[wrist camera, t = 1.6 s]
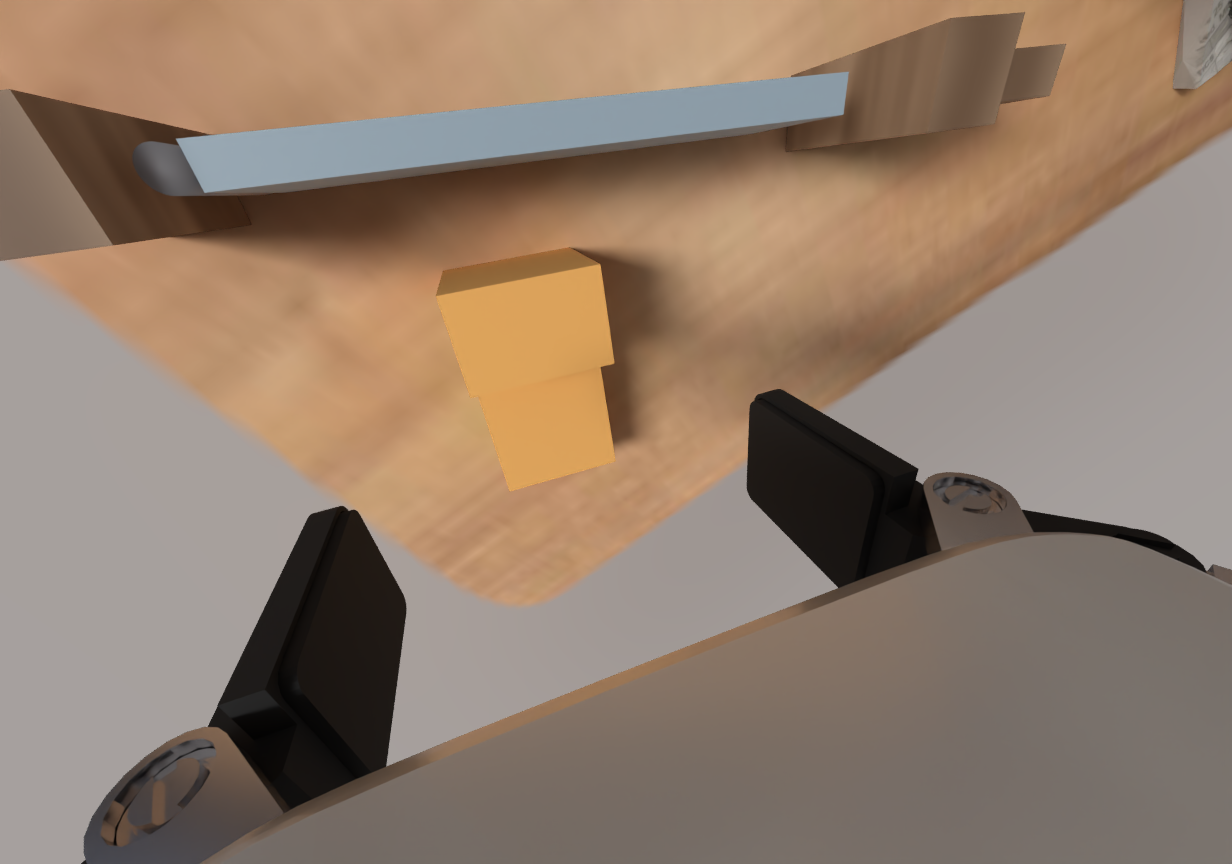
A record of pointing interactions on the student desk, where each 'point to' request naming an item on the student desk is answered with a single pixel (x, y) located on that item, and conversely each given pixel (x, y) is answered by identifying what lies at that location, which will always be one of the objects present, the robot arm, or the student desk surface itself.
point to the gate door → (479, 137)
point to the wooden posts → (132, 211)
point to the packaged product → (1203, 42)
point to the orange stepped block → (535, 359)
